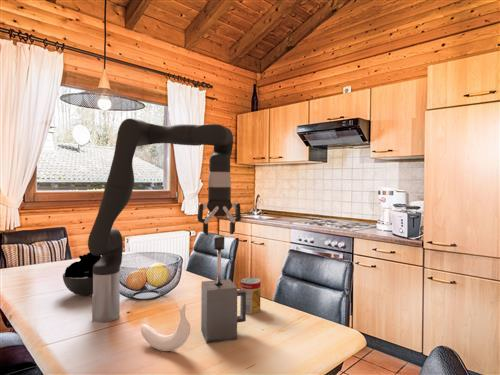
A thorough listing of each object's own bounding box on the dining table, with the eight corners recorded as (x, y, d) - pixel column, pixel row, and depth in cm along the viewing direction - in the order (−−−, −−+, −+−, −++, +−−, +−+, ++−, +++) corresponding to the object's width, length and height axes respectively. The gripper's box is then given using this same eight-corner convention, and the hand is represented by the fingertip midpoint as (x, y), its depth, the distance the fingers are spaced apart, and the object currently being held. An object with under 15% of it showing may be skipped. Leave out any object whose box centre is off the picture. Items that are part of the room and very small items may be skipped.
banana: (144, 339, 114) (144, 294, 113) (194, 351, 106) (194, 303, 106) (133, 346, 109) (133, 299, 109) (185, 359, 102) (185, 309, 101)
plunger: (215, 292, 115) (215, 237, 114) (212, 289, 118) (213, 236, 118) (225, 291, 116) (225, 237, 116) (222, 288, 119) (223, 235, 119)
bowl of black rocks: (87, 305, 143) (86, 259, 143) (51, 298, 151) (51, 255, 150) (121, 291, 162) (121, 250, 162) (89, 285, 169) (88, 247, 169)
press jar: (206, 343, 111) (207, 290, 111) (201, 330, 121) (201, 281, 120) (249, 337, 115) (249, 286, 115) (240, 325, 125) (240, 278, 125)
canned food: (262, 308, 142) (263, 278, 142) (256, 315, 135) (257, 284, 134) (244, 305, 145) (244, 276, 144) (237, 312, 137) (237, 282, 137)
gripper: (200, 185, 111) (199, 237, 111) (243, 186, 115) (242, 235, 115) (196, 185, 118) (196, 233, 118) (237, 185, 122) (236, 232, 122)
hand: (219, 234), depth 117 cm, fingers open, 8 cm apart
